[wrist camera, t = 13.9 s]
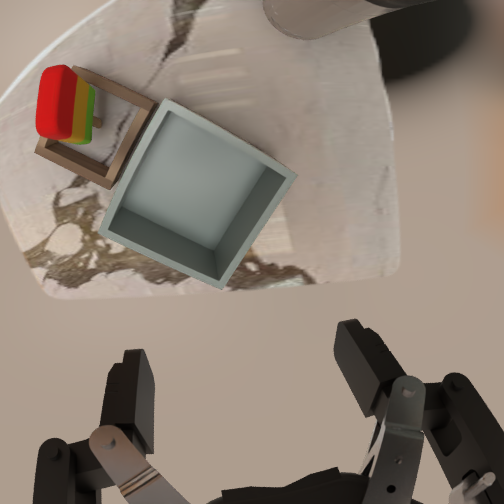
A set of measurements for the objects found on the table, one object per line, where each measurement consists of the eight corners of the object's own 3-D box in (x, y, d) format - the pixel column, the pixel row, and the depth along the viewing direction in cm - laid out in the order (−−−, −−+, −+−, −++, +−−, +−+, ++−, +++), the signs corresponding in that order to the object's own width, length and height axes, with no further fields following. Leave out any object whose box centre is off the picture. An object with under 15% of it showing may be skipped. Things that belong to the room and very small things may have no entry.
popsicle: (40, 62, 15) (63, 58, 15) (94, 102, 29) (110, 100, 30) (31, 137, 16) (54, 134, 17) (91, 149, 31) (106, 148, 31)
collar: (85, 68, 27) (73, 65, 23) (158, 103, 31) (154, 103, 27) (48, 146, 30) (34, 152, 26) (117, 180, 33) (109, 190, 30)
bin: (170, 99, 31) (164, 97, 24) (276, 159, 36) (297, 175, 29) (114, 206, 35) (97, 233, 28) (215, 255, 40) (222, 289, 33)
